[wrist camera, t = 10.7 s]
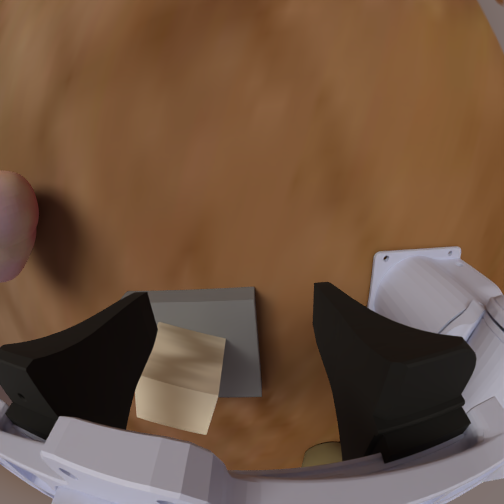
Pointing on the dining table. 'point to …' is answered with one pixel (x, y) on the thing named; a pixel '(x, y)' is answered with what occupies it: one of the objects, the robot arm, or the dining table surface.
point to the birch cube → (181, 379)
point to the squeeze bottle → (323, 454)
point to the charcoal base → (218, 330)
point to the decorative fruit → (16, 223)
